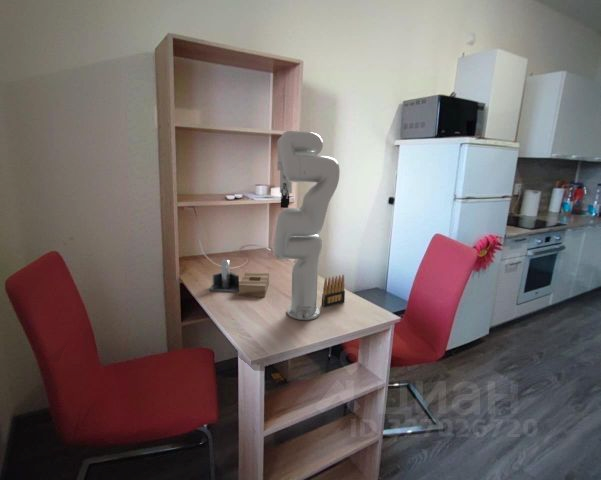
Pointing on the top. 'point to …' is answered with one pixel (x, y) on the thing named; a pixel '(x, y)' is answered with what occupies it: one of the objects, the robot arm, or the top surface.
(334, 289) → the ammunition clip
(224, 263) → the axle
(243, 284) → the wooden block with hole
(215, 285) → the v block
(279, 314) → the top surface
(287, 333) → the top surface
